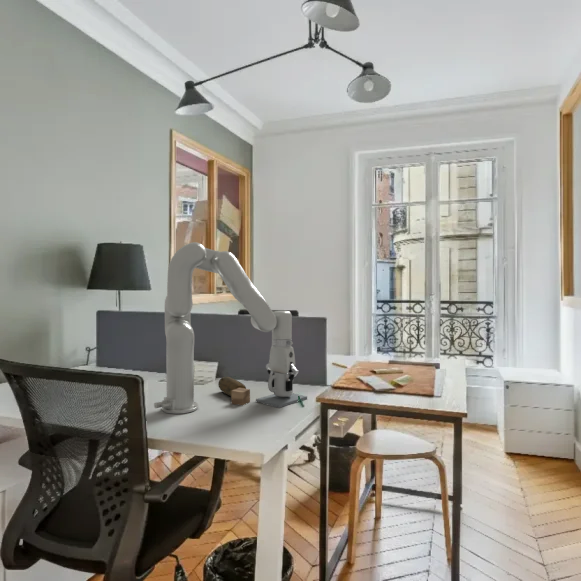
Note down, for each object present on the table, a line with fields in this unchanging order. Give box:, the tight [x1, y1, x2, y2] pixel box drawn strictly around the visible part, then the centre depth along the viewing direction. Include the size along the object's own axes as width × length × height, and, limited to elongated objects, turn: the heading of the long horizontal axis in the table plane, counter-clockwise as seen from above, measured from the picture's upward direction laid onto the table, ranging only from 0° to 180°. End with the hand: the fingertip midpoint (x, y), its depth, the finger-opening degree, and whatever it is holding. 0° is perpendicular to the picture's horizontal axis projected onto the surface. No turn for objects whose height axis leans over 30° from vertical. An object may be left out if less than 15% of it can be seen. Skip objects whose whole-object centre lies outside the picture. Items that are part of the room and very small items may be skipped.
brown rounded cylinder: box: [218, 376, 247, 398], centre depth 183 cm, size 15×7×7 cm, turn 38°
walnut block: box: [231, 388, 251, 406], centre depth 172 cm, size 5×5×5 cm
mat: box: [255, 392, 308, 409], centre depth 176 cm, size 16×12×1 cm
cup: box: [267, 372, 293, 397], centre depth 176 cm, size 7×10×9 cm
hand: (281, 388), depth 176 cm, fingers closed on cup, 7 cm apart
